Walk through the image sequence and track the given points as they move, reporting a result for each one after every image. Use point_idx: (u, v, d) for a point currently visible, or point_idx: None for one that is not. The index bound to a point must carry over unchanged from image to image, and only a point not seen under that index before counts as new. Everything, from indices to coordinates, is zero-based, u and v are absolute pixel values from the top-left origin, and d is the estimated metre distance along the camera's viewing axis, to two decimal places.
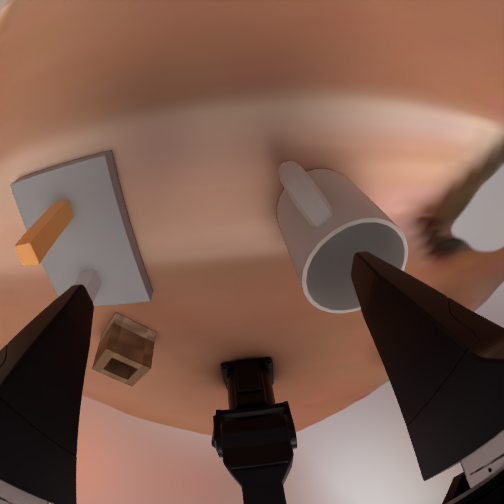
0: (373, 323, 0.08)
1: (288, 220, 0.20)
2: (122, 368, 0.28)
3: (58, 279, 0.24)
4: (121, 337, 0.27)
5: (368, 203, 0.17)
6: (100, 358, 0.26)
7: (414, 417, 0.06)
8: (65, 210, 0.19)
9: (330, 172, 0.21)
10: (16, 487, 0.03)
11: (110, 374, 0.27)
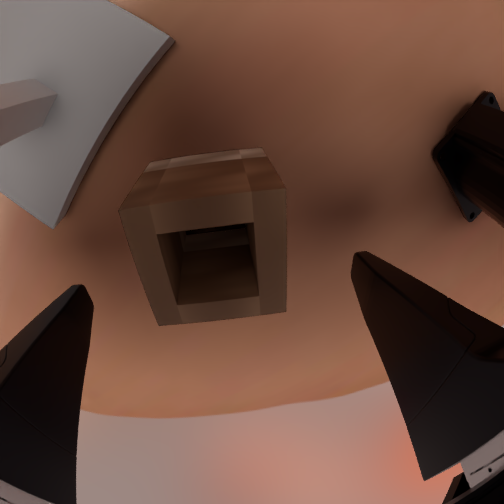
0: (373, 323, 0.08)
1: None
2: (233, 278, 0.12)
3: (5, 173, 0.10)
4: (168, 178, 0.10)
5: None
6: (140, 268, 0.09)
7: (414, 417, 0.06)
8: None
9: None
10: (16, 487, 0.03)
11: (206, 310, 0.11)
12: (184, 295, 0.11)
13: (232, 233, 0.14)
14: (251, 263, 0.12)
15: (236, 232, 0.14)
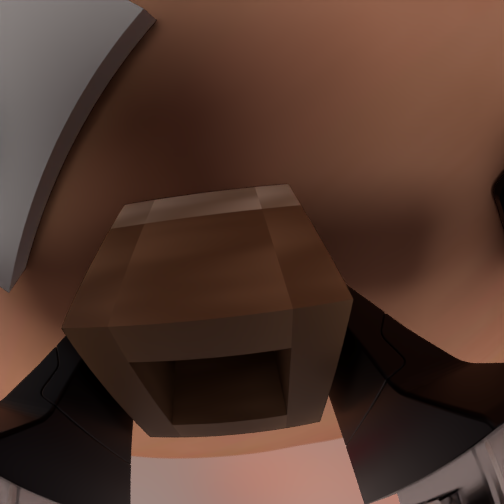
0: None
1: None
2: (249, 382, 0.08)
3: None
4: (144, 251, 0.06)
5: None
6: (113, 392, 0.06)
7: (350, 438, 0.06)
8: None
9: None
10: None
11: (214, 429, 0.07)
12: (181, 408, 0.07)
13: None
14: (273, 355, 0.08)
15: None
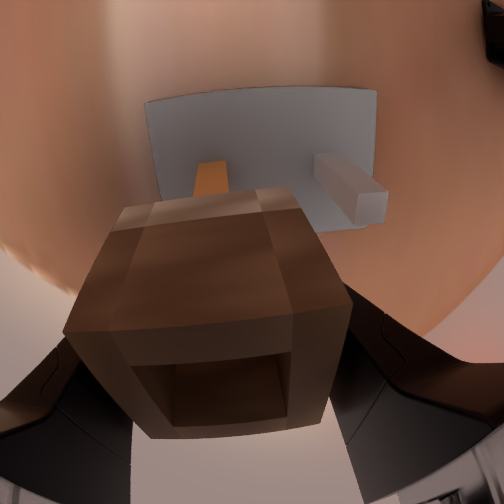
0: None
1: None
2: (250, 384, 0.08)
3: (320, 218, 0.20)
4: (145, 254, 0.06)
5: None
6: (114, 394, 0.06)
7: (350, 438, 0.06)
8: (207, 167, 0.16)
9: None
10: None
11: (214, 430, 0.07)
12: (182, 410, 0.07)
13: None
14: (273, 357, 0.08)
15: None
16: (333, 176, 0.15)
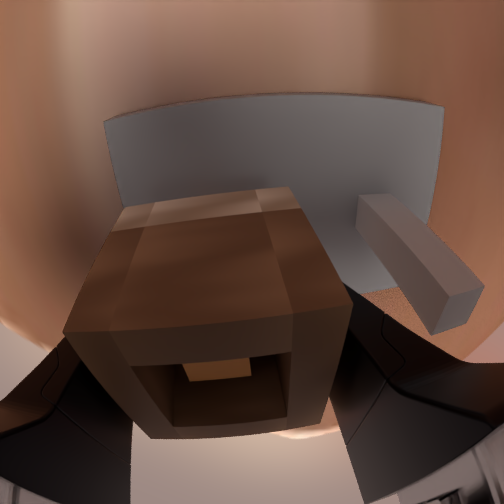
0: None
1: None
2: (250, 384, 0.08)
3: (357, 279, 0.15)
4: (145, 254, 0.06)
5: None
6: (114, 394, 0.06)
7: (350, 438, 0.06)
8: None
9: None
10: None
11: (214, 430, 0.07)
12: (182, 410, 0.07)
13: None
14: (273, 357, 0.08)
15: None
16: (398, 245, 0.09)
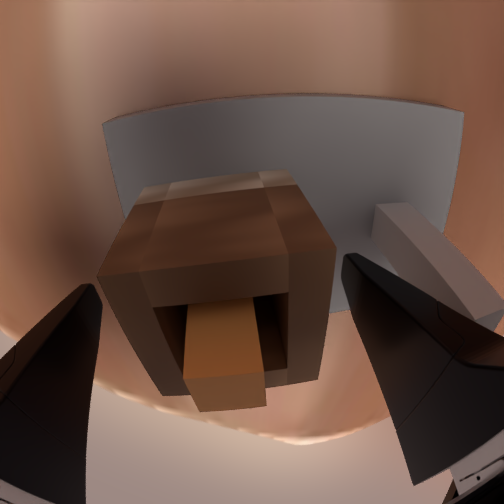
0: (362, 325, 0.08)
1: None
2: None
3: None
4: (166, 219, 0.07)
5: None
6: (134, 342, 0.07)
7: (403, 421, 0.06)
8: None
9: None
10: (26, 491, 0.03)
11: None
12: None
13: None
14: (274, 319, 0.10)
15: None
16: (420, 261, 0.08)
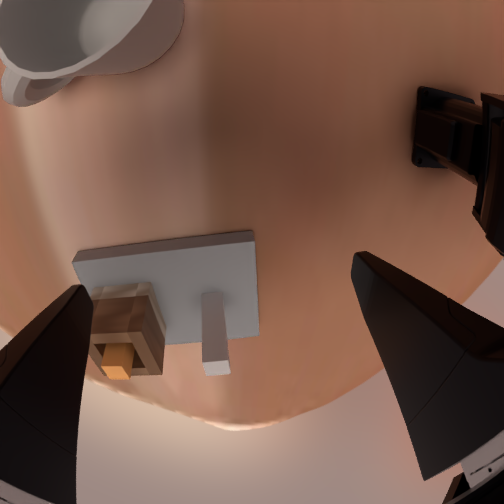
0: (373, 323, 0.08)
1: None
2: (137, 355, 0.20)
3: None
4: (98, 311, 0.19)
5: (24, 6, 0.06)
6: (90, 354, 0.18)
7: (414, 417, 0.06)
8: None
9: (67, 28, 0.11)
10: (16, 487, 0.03)
11: None
12: None
13: None
14: None
15: None
16: (202, 330, 0.20)
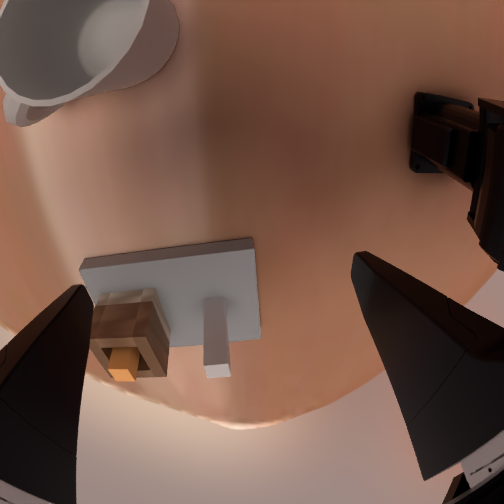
0: (373, 323, 0.08)
1: None
2: (142, 358, 0.21)
3: None
4: (104, 317, 0.20)
5: (20, 29, 0.07)
6: (97, 357, 0.19)
7: (414, 417, 0.06)
8: None
9: (65, 45, 0.12)
10: (16, 487, 0.03)
11: None
12: None
13: None
14: None
15: None
16: (204, 334, 0.21)
